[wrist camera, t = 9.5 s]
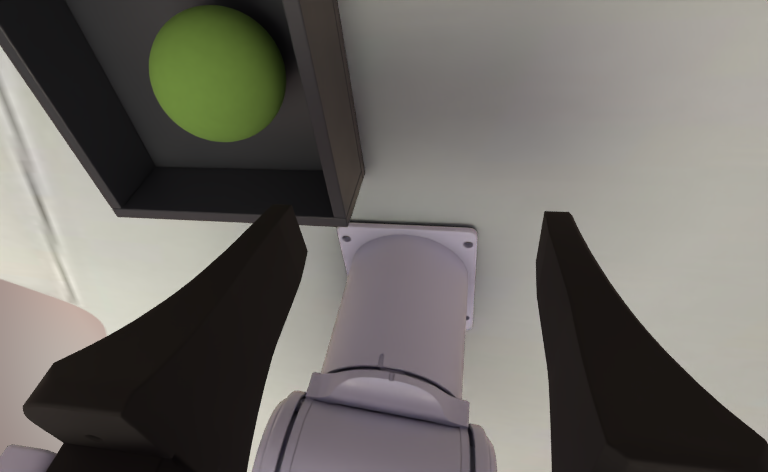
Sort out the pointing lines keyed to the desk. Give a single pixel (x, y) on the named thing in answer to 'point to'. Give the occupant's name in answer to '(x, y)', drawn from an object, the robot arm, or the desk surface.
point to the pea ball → (217, 73)
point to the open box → (171, 142)
